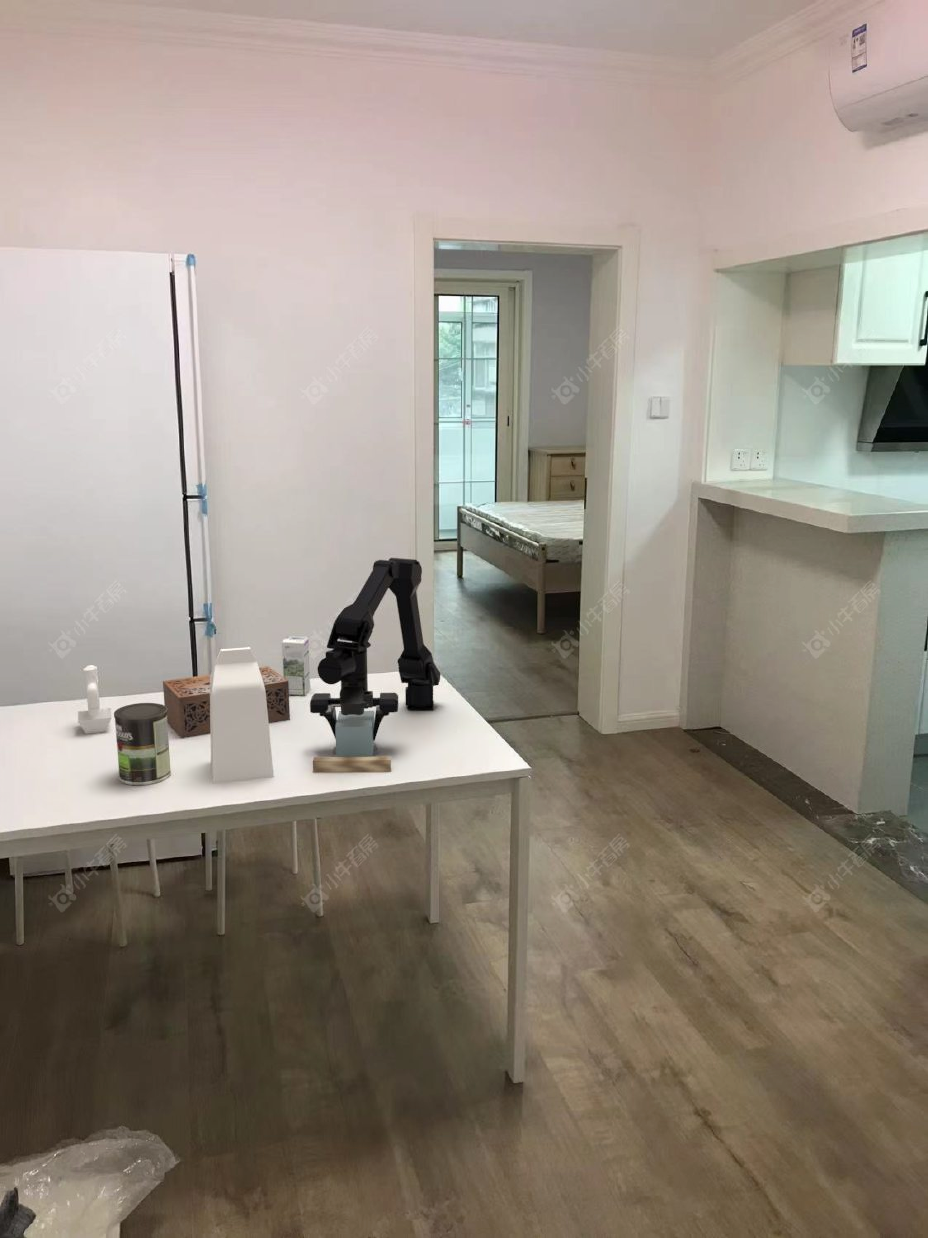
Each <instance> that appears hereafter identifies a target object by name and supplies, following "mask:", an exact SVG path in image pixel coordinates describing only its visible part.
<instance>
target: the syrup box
mask: <svg viewBox="0 0 928 1238" xmlns="http://www.w3.org/2000/svg"><path fill="white" fill-rule="evenodd" d="M281 648H282V650H281V651H282V671H283V672H282V674H283V676H282V677H284V678H285V679H286V680H288V682H289V696H296V697H297V696H299V697H300V696H303V697H304V696H307V695H308V693H309V692H310V691H311V675H310V673H311V672H310V669H311V668H310V639H309V637H308V636H287V637H285V638H284V639H283V640H282V641H281Z"/></svg>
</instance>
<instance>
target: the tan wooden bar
mask: <svg viewBox="0 0 928 1238" xmlns="http://www.w3.org/2000/svg"><path fill="white" fill-rule="evenodd" d="M391 762H392V759H391V756H372V757H336V756H323V757H321V756H317V757H316V756H315V757H314V756H313V759H312V773H356V772H358V773H360V772H361V773H364V772H369V773H370V772H371V773H372V772H375V773H376V772H377V773H378V772H379V773H380V772H391V770H392V769H391V768H392V763H391Z"/></svg>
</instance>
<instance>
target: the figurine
mask: <svg viewBox="0 0 928 1238" xmlns="http://www.w3.org/2000/svg"><path fill="white" fill-rule="evenodd" d="M98 674H99V672H98V667H97V666H96V665H93V664H90V665H86V667H85V668H83V675H84V680H85V690H86V700H87V702H86V703H87V710H81V711H77V723H78V724H79V726H80V727H81V729H82V730H83V731H84V733H85V734H86V735H88V734H89V735H91V734H97V733H106V732H107V730H108V727H109V726H110V725H109V724H110V722H111V720H112V709H111V708H101V706H100V705H101V704H100V695H99V678H98V677H99V676H98Z"/></svg>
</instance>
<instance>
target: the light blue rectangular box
mask: <svg viewBox="0 0 928 1238" xmlns="http://www.w3.org/2000/svg"><path fill="white" fill-rule="evenodd" d="M337 716H338V717H337V723H336V726H335V735H336V739H335V747H336V756H335V757H373V756H372V755H373V748H374V745H375V741H376V739H375V740H373V729H374V721H375V710H364V713H363V714H362V715H342V714H341V710H340V711H339V712H338V715H337Z"/></svg>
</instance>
